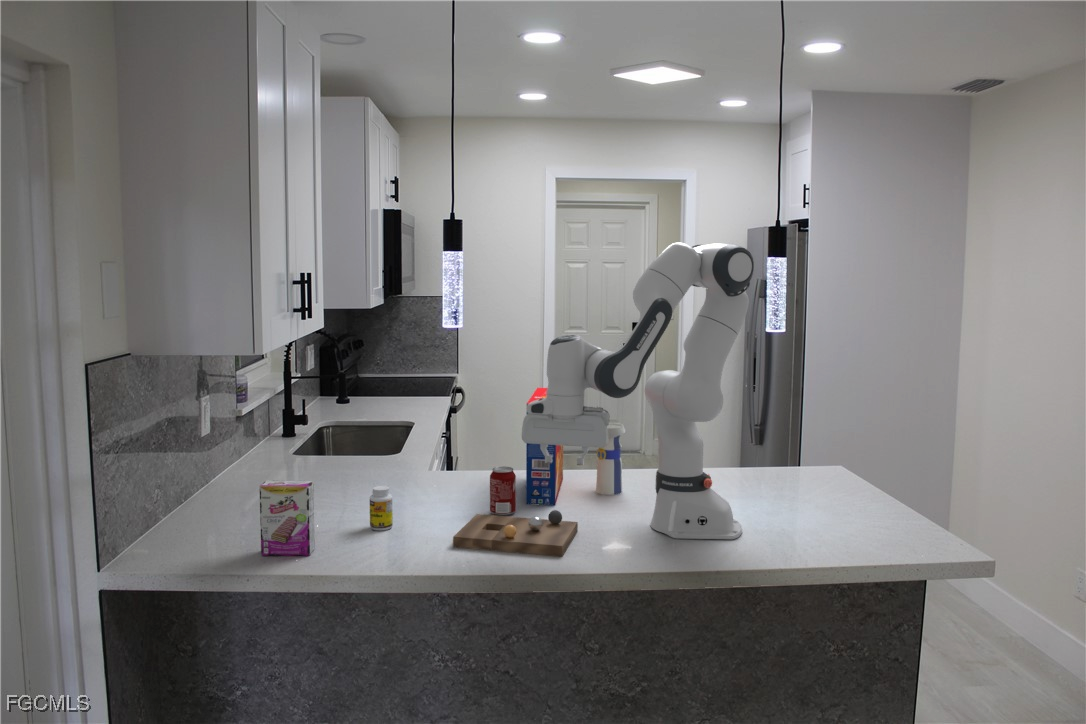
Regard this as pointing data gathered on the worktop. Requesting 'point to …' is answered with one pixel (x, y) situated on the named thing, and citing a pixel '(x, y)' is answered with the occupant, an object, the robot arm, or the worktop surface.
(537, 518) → the steel ball
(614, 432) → the white tall bottle
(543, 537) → the board
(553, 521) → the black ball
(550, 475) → the pasta box
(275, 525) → the candy bar box
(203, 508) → the worktop surface
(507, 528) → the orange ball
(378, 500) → the supplement bottle
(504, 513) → the soda can
